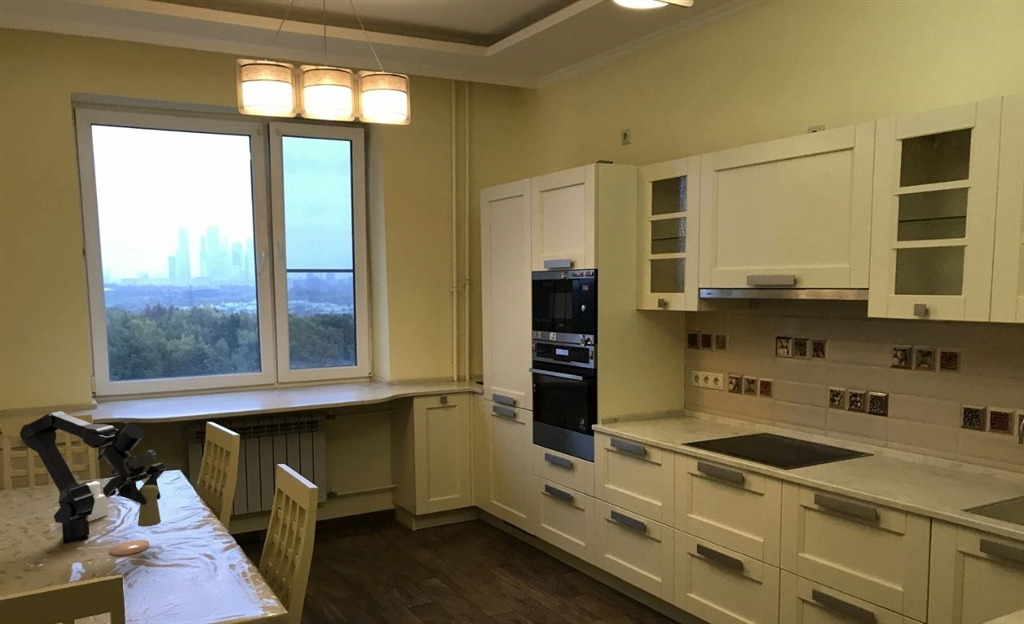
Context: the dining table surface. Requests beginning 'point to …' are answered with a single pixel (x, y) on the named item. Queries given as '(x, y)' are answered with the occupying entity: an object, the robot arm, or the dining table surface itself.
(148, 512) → the cork
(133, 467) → the robot arm
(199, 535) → the dining table surface
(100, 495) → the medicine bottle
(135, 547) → the peach round disc
